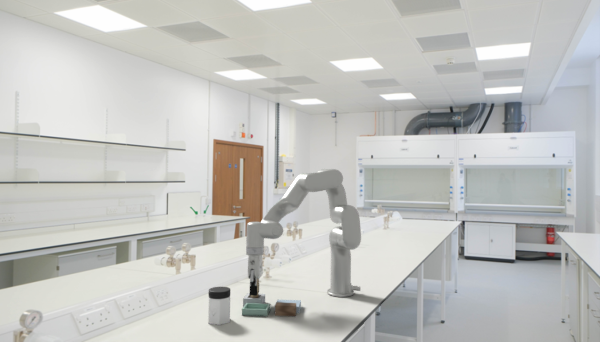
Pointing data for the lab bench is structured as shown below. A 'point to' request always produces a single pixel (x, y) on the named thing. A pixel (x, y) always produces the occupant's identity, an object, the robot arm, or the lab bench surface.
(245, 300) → the socket block
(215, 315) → the jar
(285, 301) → the board
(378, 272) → the lab bench surface
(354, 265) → the lab bench surface
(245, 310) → the tray
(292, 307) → the block
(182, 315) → the lab bench surface
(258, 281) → the dowel
